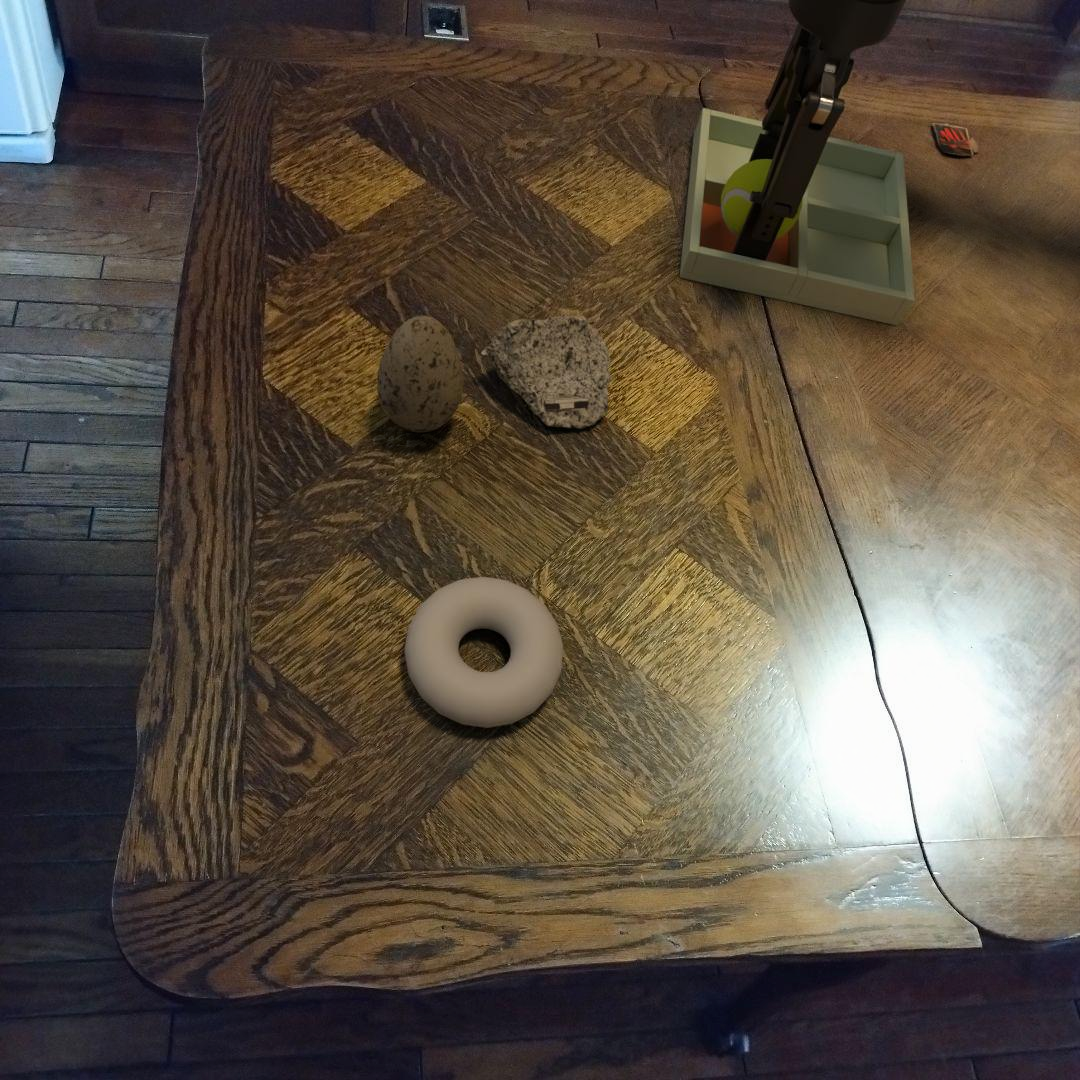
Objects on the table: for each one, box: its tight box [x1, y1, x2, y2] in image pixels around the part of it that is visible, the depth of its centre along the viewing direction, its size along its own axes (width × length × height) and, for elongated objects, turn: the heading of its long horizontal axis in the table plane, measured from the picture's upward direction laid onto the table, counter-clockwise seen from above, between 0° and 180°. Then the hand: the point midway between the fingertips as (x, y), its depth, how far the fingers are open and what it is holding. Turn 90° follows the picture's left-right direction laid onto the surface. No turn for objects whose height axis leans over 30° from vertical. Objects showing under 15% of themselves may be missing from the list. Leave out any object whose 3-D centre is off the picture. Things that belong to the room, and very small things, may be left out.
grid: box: [679, 107, 916, 327], centre depth 88 cm, size 19×19×3 cm
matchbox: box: [929, 122, 981, 157], centre depth 100 cm, size 5×5×1 cm
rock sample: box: [481, 312, 613, 430], centre depth 74 cm, size 10×8×9 cm
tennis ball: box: [721, 159, 803, 240], centre depth 82 cm, size 7×7×7 cm
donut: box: [404, 576, 564, 729], centre depth 62 cm, size 10×4×10 cm
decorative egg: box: [376, 315, 464, 433], centre depth 68 cm, size 6×6×10 cm
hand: (748, 230), depth 85 cm, fingers closed on tennis ball, 7 cm apart
